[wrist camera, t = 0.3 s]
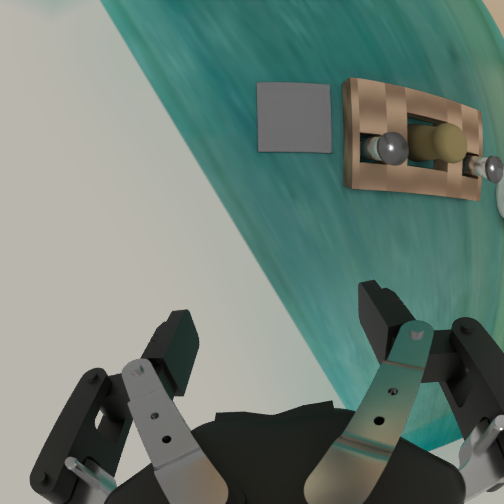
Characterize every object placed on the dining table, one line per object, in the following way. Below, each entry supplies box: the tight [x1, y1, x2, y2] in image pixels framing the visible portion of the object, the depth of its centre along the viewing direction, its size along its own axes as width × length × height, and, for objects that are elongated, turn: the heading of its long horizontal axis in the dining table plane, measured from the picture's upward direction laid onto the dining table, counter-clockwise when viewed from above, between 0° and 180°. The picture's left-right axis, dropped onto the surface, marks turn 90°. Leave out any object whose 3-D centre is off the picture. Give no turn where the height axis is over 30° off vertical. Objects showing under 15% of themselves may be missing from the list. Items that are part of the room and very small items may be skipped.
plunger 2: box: [462, 155, 503, 183], centre depth 28 cm, size 4×4×8 cm
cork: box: [407, 123, 467, 164], centre depth 28 cm, size 6×6×11 cm
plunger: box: [360, 132, 409, 166], centre depth 29 cm, size 4×4×8 cm
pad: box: [257, 82, 331, 153], centre depth 33 cm, size 10×10×1 cm
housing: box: [342, 77, 483, 201], centre depth 32 cm, size 15×24×4 cm, turn 91°
